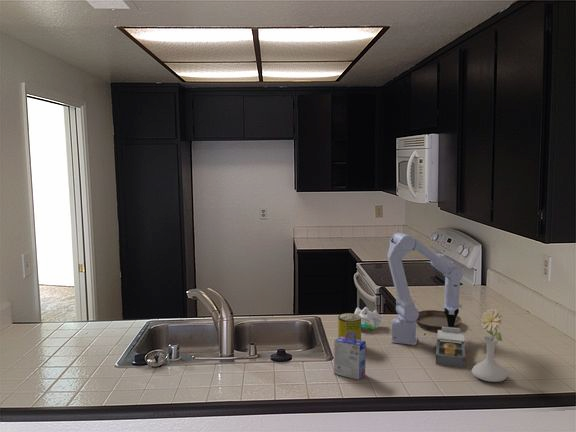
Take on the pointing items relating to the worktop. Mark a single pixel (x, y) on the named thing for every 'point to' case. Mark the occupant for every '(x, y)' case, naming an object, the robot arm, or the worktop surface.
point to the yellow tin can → (349, 325)
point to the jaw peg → (450, 349)
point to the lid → (450, 334)
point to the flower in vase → (490, 349)
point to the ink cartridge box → (349, 356)
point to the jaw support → (369, 317)
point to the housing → (449, 359)
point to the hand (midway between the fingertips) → (450, 326)
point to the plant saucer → (434, 320)
